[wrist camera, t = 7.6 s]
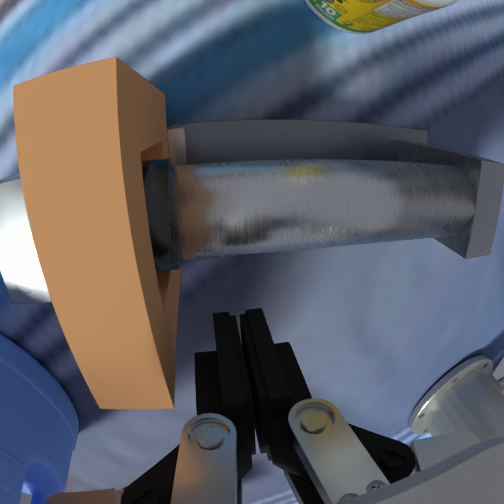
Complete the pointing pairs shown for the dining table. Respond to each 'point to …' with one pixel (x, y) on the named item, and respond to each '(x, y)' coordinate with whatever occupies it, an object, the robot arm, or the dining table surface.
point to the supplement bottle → (371, 12)
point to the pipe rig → (287, 195)
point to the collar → (100, 225)
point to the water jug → (32, 428)
